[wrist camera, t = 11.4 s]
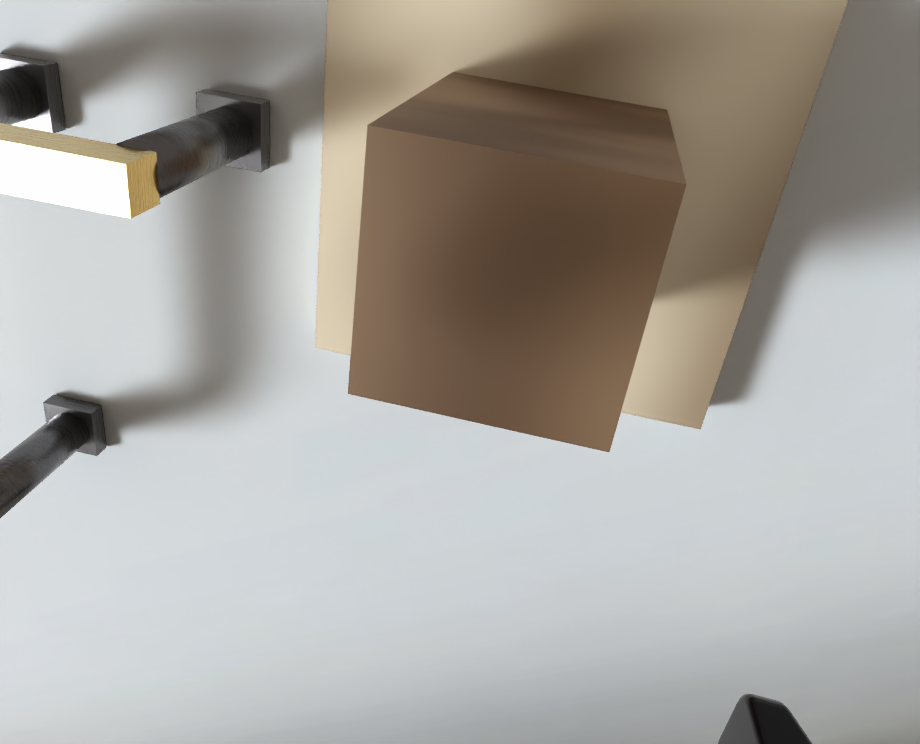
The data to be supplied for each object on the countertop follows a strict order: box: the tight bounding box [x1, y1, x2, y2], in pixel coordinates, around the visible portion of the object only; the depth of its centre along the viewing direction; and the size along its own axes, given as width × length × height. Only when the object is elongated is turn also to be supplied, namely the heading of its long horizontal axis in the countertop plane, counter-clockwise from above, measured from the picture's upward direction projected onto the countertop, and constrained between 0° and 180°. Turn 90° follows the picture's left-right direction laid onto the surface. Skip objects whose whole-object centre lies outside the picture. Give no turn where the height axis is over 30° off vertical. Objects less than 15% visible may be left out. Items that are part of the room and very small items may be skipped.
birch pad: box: [315, 0, 849, 429], centre depth 17 cm, size 10×10×1 cm
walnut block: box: [348, 72, 686, 452], centre depth 14 cm, size 4×4×6 cm
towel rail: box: [0, 53, 270, 518], centre depth 19 cm, size 7×12×6 cm, turn 172°
